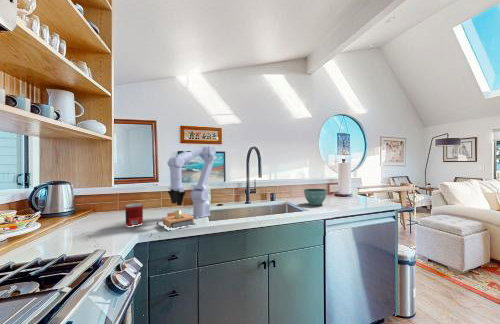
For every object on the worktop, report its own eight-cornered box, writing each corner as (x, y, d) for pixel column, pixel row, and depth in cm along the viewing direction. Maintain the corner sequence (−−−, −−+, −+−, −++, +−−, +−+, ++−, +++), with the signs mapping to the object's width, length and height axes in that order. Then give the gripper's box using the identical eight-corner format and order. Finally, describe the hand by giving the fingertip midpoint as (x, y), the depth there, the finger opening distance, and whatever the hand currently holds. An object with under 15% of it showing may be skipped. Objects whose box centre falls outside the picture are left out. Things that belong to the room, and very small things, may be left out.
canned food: (146, 223, 114) (145, 203, 114) (134, 228, 107) (134, 206, 107) (134, 223, 116) (134, 203, 116) (122, 227, 109) (121, 205, 109)
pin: (180, 223, 110) (180, 210, 110) (182, 224, 108) (182, 211, 108) (174, 224, 108) (174, 210, 109) (176, 225, 106) (176, 211, 106)
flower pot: (299, 203, 161) (299, 189, 161) (316, 201, 167) (315, 187, 168) (314, 207, 146) (314, 191, 146) (332, 205, 153) (331, 189, 153)
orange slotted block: (185, 219, 118) (185, 210, 118) (193, 223, 109) (193, 213, 109) (162, 223, 110) (162, 213, 110) (169, 228, 101) (169, 217, 101)
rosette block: (182, 218, 123) (182, 213, 123) (196, 225, 109) (196, 219, 109) (157, 223, 114) (156, 218, 114) (168, 231, 100) (168, 225, 100)
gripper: (163, 179, 117) (164, 203, 117) (173, 180, 106) (174, 207, 106) (176, 178, 122) (177, 201, 122) (187, 179, 111) (187, 205, 111)
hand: (176, 204), depth 114 cm, fingers open, 7 cm apart
